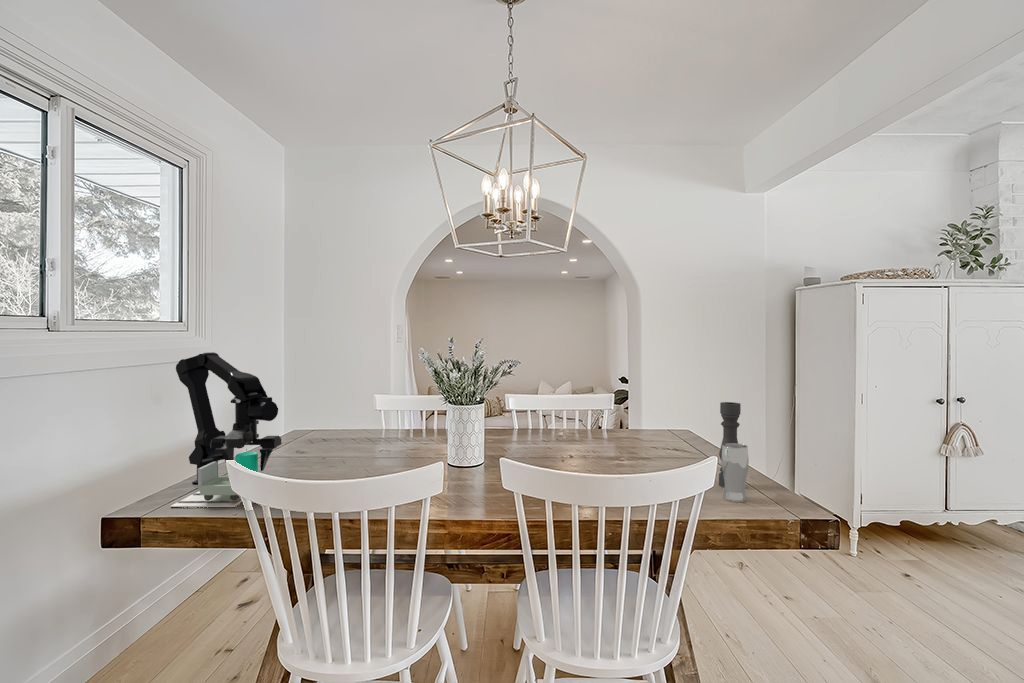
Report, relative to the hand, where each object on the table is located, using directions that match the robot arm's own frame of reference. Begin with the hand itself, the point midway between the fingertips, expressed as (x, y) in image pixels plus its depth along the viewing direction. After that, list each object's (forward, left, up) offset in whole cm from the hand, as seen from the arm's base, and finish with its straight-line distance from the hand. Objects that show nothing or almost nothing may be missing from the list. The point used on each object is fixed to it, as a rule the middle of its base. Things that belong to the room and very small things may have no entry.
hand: (246, 470), depth 162 cm
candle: (0, 0, -6) cm, 6 cm away
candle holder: (-1, +145, -6) cm, 145 cm away
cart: (+11, 0, -4) cm, 12 cm away
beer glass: (+12, +141, -6) cm, 142 cm away
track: (+11, -3, -5) cm, 13 cm away
